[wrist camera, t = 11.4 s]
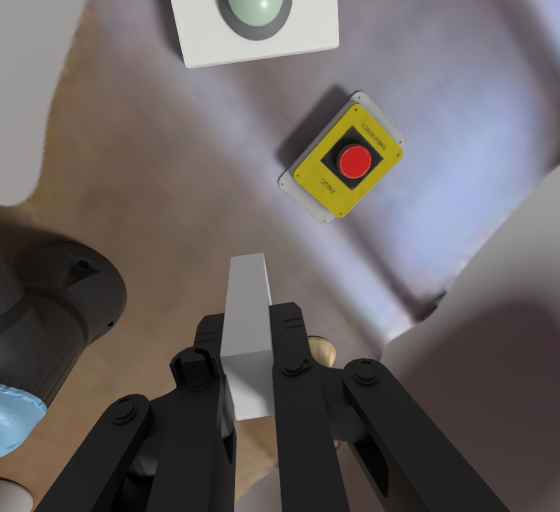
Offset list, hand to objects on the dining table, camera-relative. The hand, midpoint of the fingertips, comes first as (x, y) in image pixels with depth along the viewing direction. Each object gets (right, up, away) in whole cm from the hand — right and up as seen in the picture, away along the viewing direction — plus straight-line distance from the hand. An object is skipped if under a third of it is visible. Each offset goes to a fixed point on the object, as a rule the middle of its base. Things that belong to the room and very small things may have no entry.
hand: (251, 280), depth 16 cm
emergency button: (+9, +13, +28) cm, 32 cm away
